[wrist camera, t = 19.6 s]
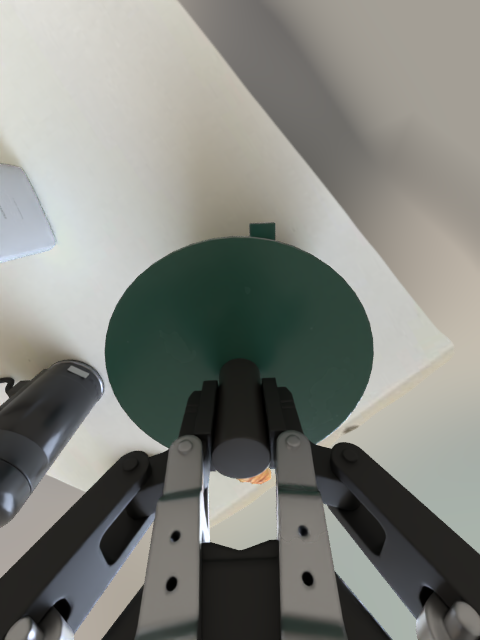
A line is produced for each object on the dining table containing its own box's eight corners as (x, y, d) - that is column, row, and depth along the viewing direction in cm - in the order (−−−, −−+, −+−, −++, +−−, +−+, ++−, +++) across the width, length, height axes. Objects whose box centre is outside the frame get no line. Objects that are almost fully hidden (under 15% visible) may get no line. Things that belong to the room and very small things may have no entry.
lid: (142, 455, 19) (99, 569, 13) (80, 242, 13) (-57, 275, 7) (348, 445, 19) (399, 557, 13) (385, 226, 13) (518, 245, 7)
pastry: (278, 463, 53) (280, 482, 49) (256, 480, 55) (257, 499, 51) (243, 443, 50) (243, 461, 47) (222, 461, 52) (221, 479, 49)
